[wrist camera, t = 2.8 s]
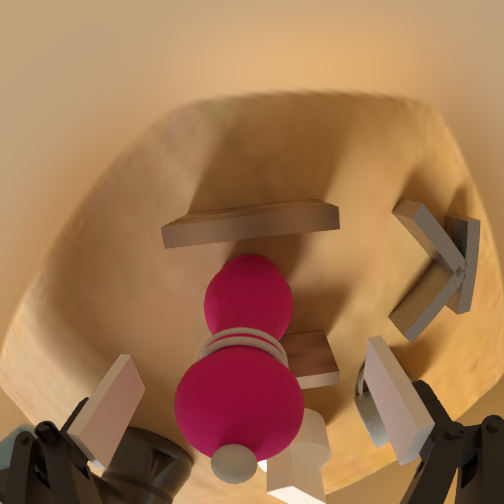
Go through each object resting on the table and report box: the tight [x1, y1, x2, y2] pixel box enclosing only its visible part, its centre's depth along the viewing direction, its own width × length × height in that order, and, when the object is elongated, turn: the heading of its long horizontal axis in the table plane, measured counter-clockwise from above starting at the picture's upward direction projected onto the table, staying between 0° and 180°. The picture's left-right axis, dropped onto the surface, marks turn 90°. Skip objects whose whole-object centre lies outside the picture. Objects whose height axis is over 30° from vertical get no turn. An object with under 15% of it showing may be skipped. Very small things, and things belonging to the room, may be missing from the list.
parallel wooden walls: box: [161, 199, 340, 389], centre depth 23 cm, size 12×15×7 cm
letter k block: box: [388, 199, 480, 343], centre depth 24 cm, size 9×14×4 cm, turn 7°
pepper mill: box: [174, 255, 304, 484], centre depth 17 cm, size 7×7×20 cm
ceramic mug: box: [354, 367, 418, 447], centre depth 26 cm, size 11×8×8 cm
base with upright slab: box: [259, 408, 331, 504], centre depth 26 cm, size 9×9×12 cm
